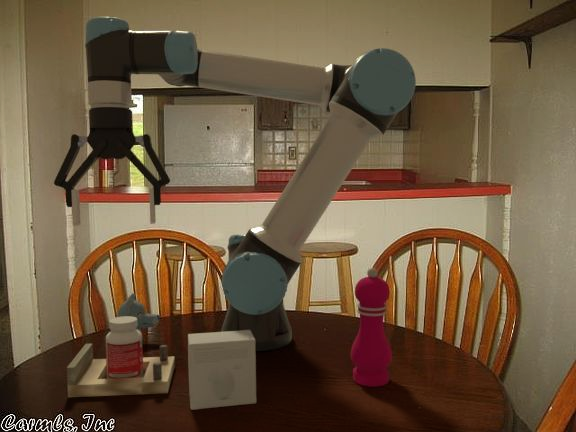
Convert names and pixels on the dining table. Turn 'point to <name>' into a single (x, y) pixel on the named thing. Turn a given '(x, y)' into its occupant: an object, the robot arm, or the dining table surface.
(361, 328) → the pepper mill
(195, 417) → the dining table surface
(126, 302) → the wolf head
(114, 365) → the pill bottle
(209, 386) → the skincare box
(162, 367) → the jig
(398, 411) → the dining table surface
